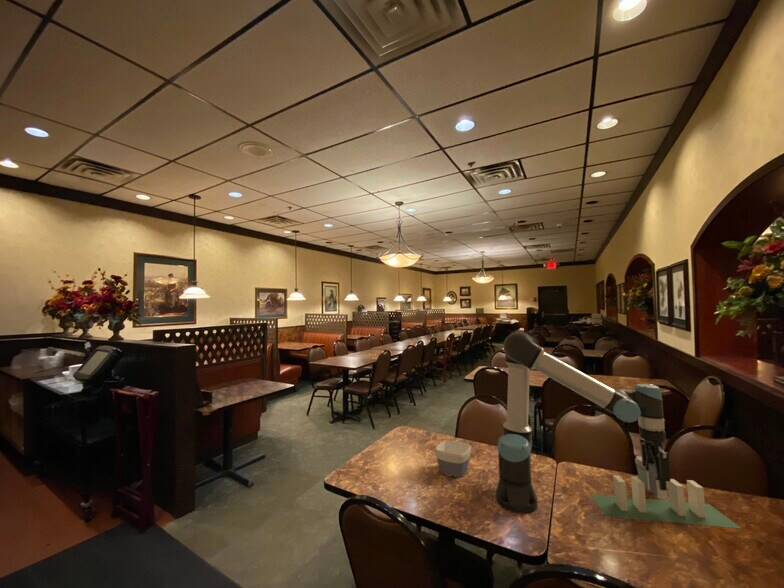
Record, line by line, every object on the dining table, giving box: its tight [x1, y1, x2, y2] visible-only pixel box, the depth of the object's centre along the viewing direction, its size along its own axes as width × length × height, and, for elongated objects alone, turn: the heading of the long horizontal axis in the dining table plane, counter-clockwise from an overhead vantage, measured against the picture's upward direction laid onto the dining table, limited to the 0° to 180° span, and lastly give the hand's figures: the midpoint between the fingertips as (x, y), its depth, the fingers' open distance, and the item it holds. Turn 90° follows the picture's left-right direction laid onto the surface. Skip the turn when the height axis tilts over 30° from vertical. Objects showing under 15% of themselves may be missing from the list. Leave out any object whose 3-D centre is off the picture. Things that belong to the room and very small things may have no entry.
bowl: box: [434, 439, 472, 478], centre depth 149 cm, size 15×15×11 cm
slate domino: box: [648, 463, 658, 498], centre depth 116 cm, size 2×5×10 cm, turn 168°
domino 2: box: [630, 476, 647, 513], centre depth 117 cm, size 2×5×10 cm, turn 168°
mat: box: [589, 494, 742, 529], centre depth 115 cm, size 40×14×1 cm, turn 78°
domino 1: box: [612, 474, 628, 511], centre depth 118 cm, size 2×5×10 cm, turn 168°
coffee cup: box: [634, 455, 654, 494], centre depth 129 cm, size 8×8×12 cm
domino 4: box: [686, 479, 706, 518], centre depth 113 cm, size 2×5×10 cm, turn 168°
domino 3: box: [667, 478, 686, 516], centre depth 114 cm, size 2×5×10 cm, turn 168°
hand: (657, 493), depth 116 cm, fingers closed on slate domino, 5 cm apart
